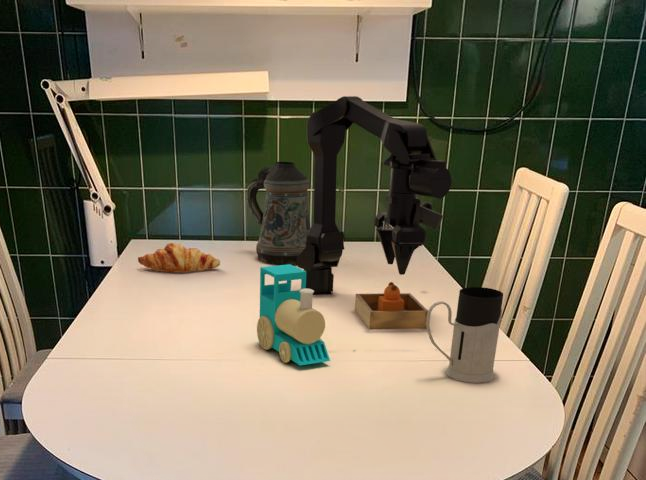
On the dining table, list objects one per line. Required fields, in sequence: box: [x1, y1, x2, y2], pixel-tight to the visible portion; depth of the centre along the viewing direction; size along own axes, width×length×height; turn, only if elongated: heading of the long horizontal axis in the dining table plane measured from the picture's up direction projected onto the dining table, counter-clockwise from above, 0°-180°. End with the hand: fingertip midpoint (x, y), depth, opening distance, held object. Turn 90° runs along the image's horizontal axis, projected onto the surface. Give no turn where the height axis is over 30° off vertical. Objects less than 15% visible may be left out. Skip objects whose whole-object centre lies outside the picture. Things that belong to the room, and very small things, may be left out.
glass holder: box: [426, 286, 504, 384], centre depth 145 cm, size 9×14×15 cm, turn 107°
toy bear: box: [378, 281, 404, 311], centre depth 175 cm, size 5×4×8 cm
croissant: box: [137, 242, 221, 273], centre depth 212 cm, size 21×10×8 cm
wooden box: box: [354, 292, 429, 330], centre depth 176 cm, size 12×14×4 cm
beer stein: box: [246, 161, 312, 267], centre depth 221 cm, size 16×19×25 cm
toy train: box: [256, 264, 331, 366], centre depth 153 cm, size 8×17×15 cm, turn 27°
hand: (396, 269), depth 173 cm, fingers open, 9 cm apart
